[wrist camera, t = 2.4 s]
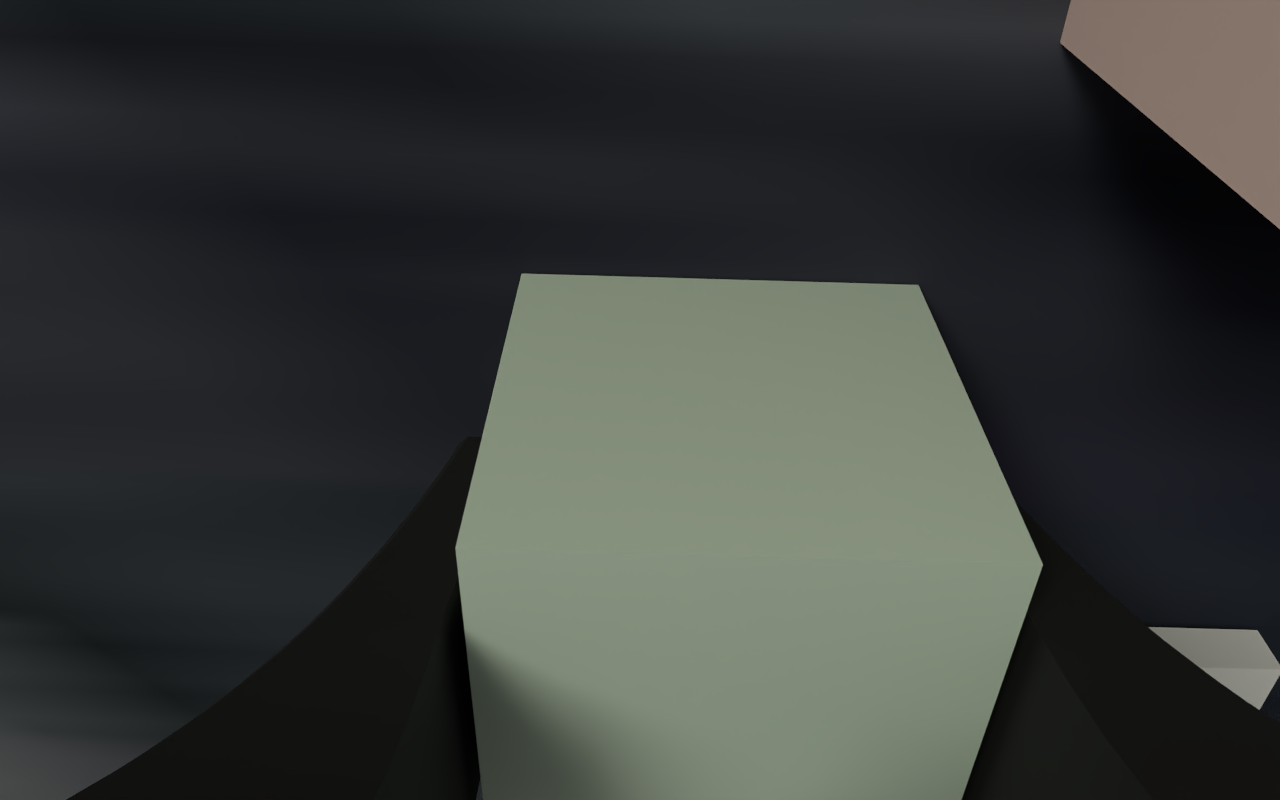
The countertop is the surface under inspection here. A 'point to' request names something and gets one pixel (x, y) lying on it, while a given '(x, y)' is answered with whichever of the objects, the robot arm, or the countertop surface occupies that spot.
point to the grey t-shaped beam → (1228, 658)
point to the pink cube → (1196, 79)
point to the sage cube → (734, 547)
